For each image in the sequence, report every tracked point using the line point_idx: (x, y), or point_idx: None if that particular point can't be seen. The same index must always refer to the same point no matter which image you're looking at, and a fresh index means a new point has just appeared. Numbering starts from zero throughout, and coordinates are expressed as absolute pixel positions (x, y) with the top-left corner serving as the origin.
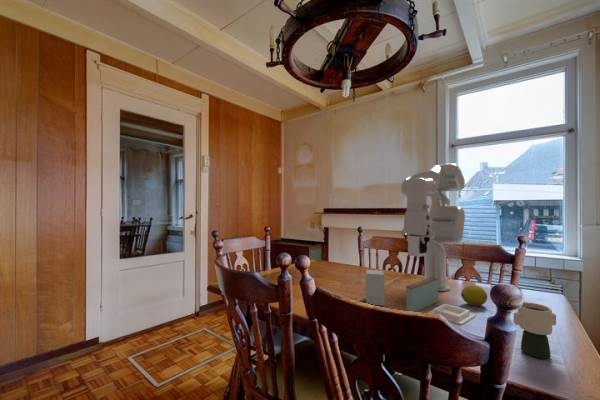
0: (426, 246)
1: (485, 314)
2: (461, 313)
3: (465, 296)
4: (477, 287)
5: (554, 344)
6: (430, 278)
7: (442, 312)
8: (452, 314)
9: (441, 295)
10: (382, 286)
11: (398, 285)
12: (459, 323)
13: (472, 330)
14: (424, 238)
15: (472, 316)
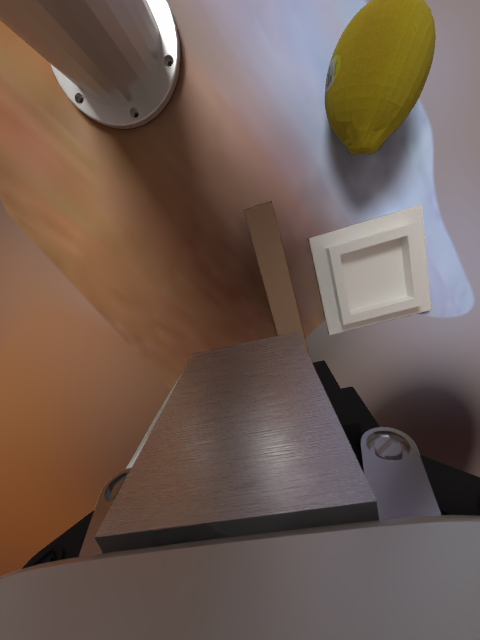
0: (371, 423)
1: (428, 155)
2: (414, 274)
3: (373, 152)
4: (420, 49)
5: None
6: (260, 243)
7: (372, 317)
8: (402, 307)
9: (218, 134)
10: None
11: (55, 213)
12: (424, 311)
13: (461, 309)
14: (379, 512)
15: (421, 230)
